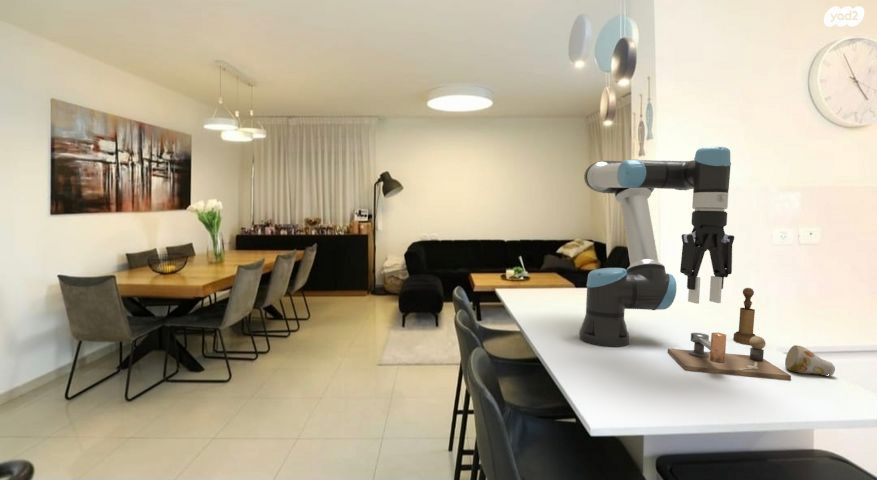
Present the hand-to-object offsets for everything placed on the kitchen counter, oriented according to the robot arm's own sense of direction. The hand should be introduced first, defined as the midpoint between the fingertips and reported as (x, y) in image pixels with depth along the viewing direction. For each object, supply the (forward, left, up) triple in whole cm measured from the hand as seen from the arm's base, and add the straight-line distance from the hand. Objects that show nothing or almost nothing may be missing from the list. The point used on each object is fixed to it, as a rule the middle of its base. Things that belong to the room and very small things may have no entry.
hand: (704, 302), depth 110 cm
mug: (+30, +11, -19) cm, 37 cm away
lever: (+5, +9, -15) cm, 18 cm away
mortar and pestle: (+26, +40, -19) cm, 52 cm away
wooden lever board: (+10, +11, -19) cm, 24 cm away
